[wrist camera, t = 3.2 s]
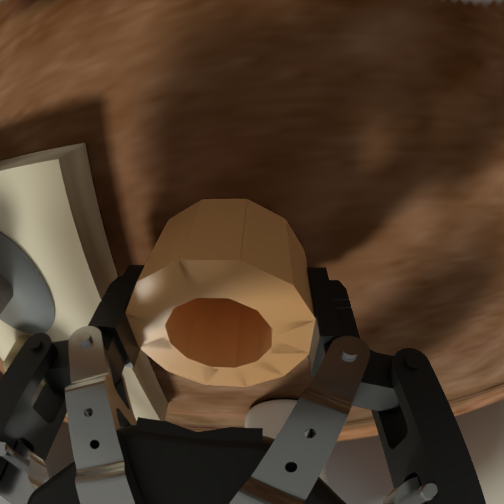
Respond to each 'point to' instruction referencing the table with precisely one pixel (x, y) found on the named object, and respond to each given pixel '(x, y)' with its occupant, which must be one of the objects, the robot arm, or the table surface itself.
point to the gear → (224, 296)
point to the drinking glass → (273, 419)
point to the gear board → (58, 261)
